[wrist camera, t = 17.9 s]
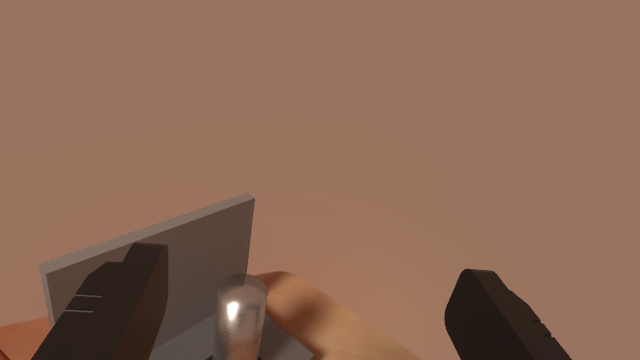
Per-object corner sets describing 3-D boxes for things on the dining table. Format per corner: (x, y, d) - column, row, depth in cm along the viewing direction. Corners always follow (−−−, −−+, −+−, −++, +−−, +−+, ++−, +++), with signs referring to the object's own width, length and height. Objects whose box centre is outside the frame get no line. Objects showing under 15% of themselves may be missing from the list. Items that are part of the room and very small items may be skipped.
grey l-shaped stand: (309, 374, 39) (339, 250, 32) (140, 539, 26) (129, 386, 19) (235, 308, 45) (247, 193, 38) (67, 413, 32) (38, 264, 25)
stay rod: (261, 394, 36) (278, 292, 31) (227, 424, 33) (239, 317, 28) (234, 367, 38) (245, 267, 33) (200, 393, 35) (206, 288, 30)
